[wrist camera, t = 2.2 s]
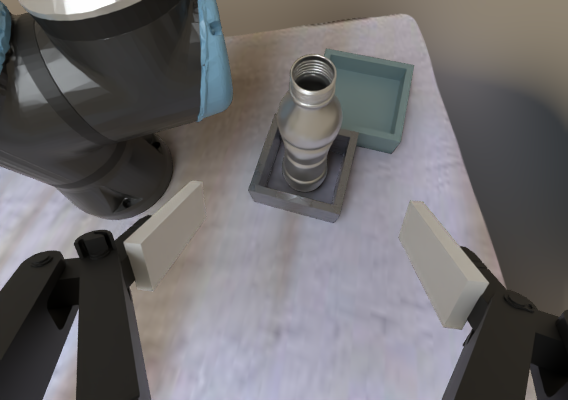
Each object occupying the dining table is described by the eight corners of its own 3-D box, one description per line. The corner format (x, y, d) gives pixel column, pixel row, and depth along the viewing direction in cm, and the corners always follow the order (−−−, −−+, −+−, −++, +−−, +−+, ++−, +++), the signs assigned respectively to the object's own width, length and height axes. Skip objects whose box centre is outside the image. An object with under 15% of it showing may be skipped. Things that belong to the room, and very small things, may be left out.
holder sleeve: (254, 201, 37) (248, 190, 33) (277, 132, 41) (275, 113, 36) (333, 223, 36) (339, 214, 31) (351, 150, 39) (359, 132, 34)
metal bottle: (322, 153, 39) (349, 35, 20) (327, 194, 37) (363, 105, 18) (281, 157, 39) (268, 42, 20) (284, 198, 37) (273, 113, 18)
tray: (303, 133, 40) (303, 120, 37) (323, 65, 44) (326, 48, 41) (391, 153, 39) (400, 142, 35) (404, 81, 43) (414, 65, 39)
